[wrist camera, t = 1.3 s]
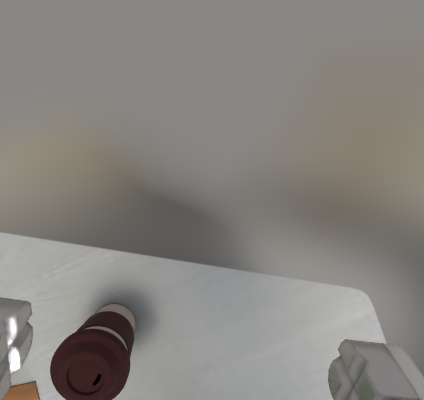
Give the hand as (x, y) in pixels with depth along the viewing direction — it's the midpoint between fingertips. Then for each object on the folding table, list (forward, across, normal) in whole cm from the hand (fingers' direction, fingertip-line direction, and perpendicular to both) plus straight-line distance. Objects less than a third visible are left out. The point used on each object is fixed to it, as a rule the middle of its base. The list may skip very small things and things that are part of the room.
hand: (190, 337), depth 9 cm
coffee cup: (+36, -8, -38) cm, 53 cm away
